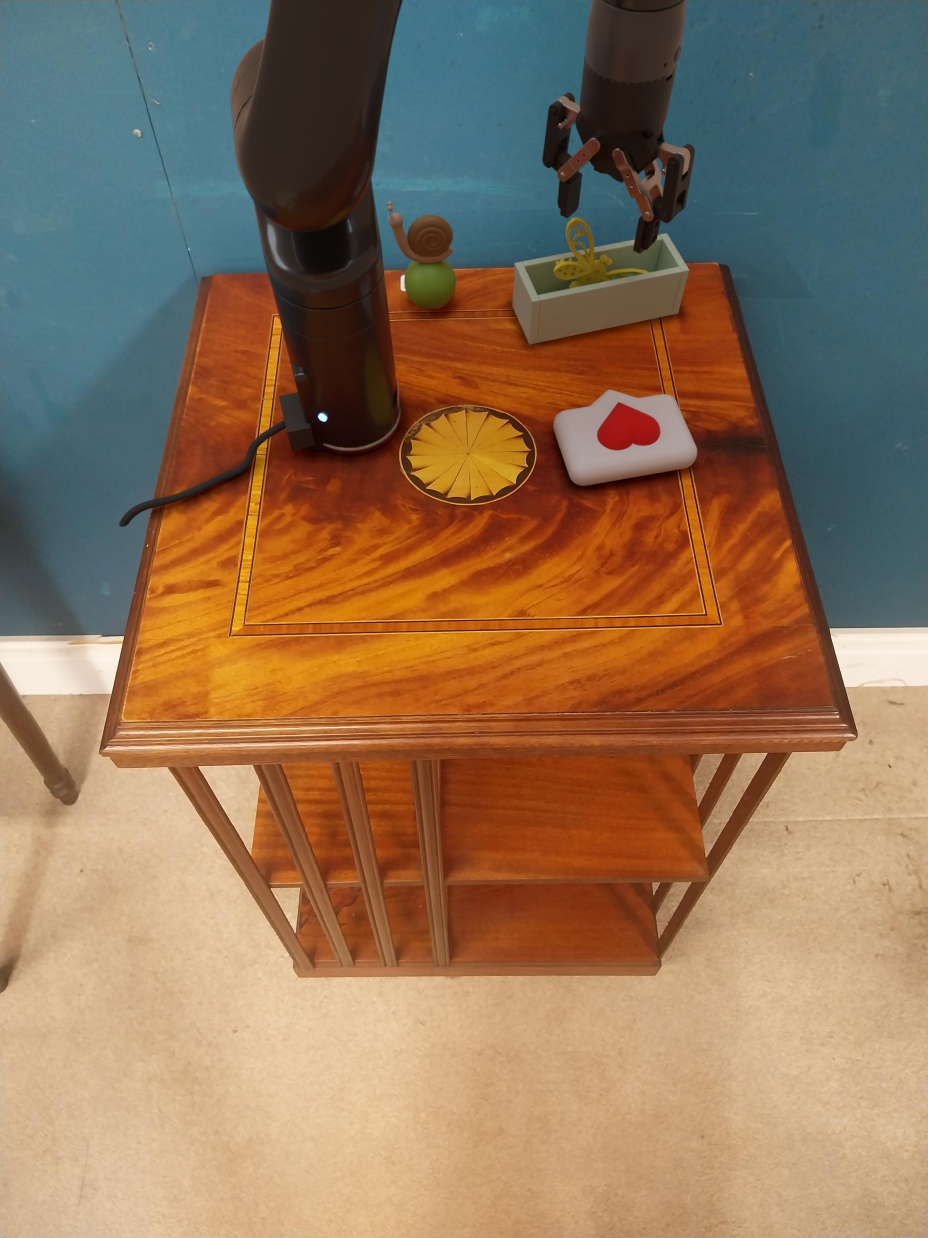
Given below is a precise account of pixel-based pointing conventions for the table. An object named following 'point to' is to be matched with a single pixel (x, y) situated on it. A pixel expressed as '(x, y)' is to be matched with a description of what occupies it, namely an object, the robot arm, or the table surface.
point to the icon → (623, 438)
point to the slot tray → (598, 291)
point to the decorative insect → (587, 261)
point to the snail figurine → (426, 259)
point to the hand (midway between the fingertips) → (605, 230)
